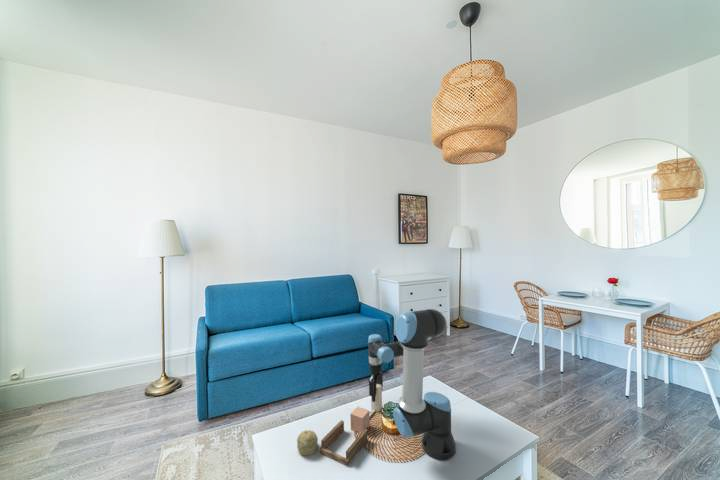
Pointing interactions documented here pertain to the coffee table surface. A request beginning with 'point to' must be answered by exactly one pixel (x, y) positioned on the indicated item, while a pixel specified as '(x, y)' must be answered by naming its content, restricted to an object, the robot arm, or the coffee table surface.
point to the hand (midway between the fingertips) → (376, 403)
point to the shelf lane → (350, 452)
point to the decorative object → (307, 442)
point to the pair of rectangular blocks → (365, 413)
